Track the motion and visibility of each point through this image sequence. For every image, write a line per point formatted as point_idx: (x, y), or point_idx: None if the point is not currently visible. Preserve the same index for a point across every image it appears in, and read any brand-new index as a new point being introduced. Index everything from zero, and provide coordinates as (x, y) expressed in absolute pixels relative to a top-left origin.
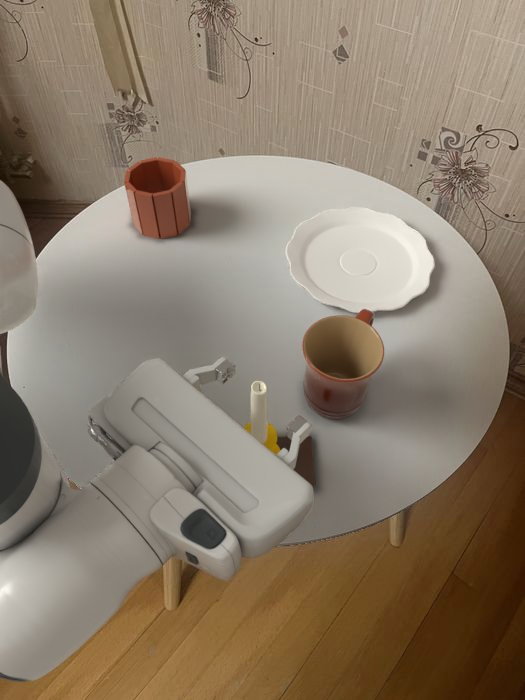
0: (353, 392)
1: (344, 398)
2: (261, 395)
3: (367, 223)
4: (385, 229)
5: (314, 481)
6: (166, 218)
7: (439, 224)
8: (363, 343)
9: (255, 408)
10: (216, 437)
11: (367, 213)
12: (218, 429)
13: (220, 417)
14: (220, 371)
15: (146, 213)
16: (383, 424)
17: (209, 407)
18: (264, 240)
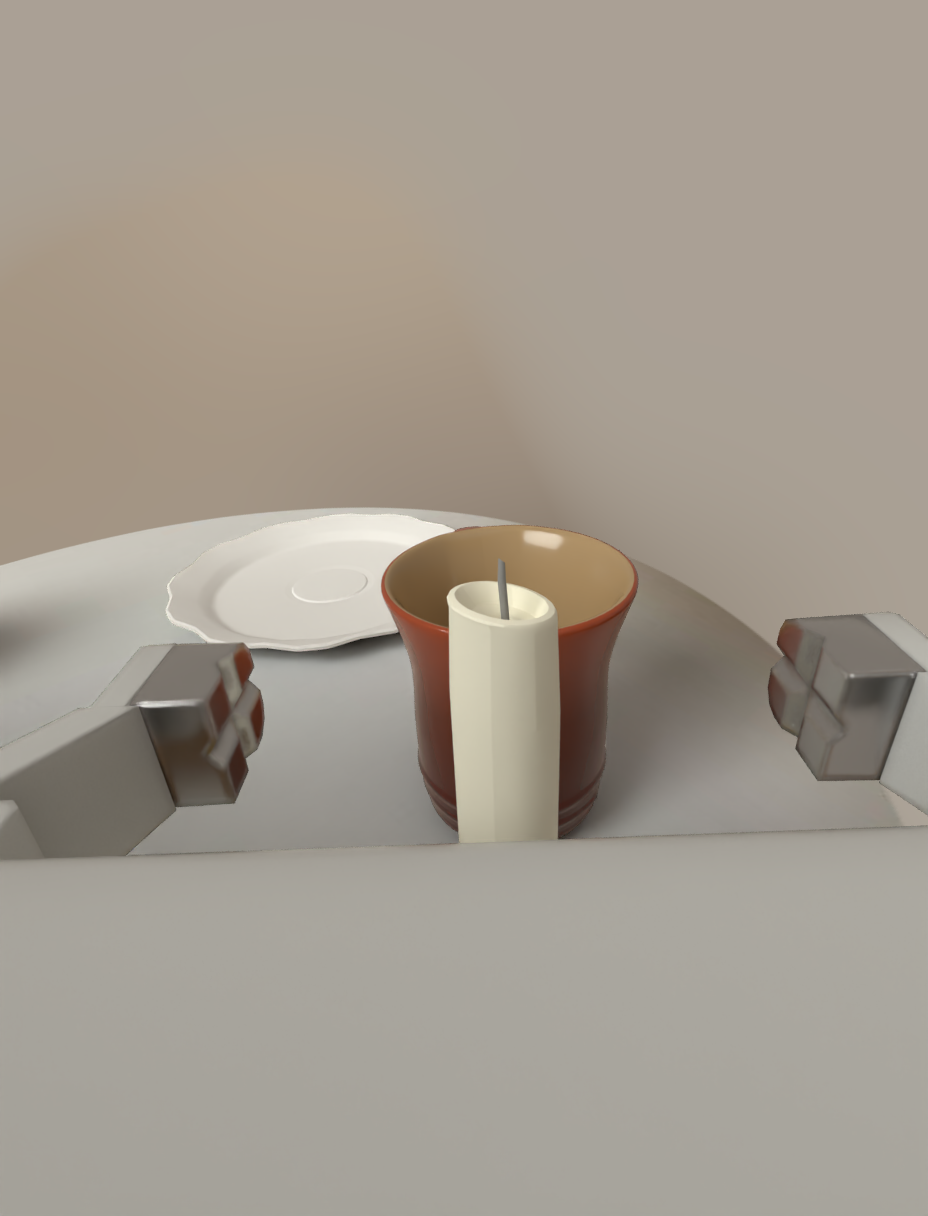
0: (604, 685)
1: (593, 720)
2: (551, 628)
3: (299, 541)
4: (335, 536)
5: None
6: None
7: (406, 510)
8: (519, 581)
9: (525, 782)
10: (745, 1198)
11: (289, 528)
12: (628, 1046)
13: (497, 895)
14: (180, 697)
15: None
16: (665, 768)
17: (288, 897)
18: (106, 638)
